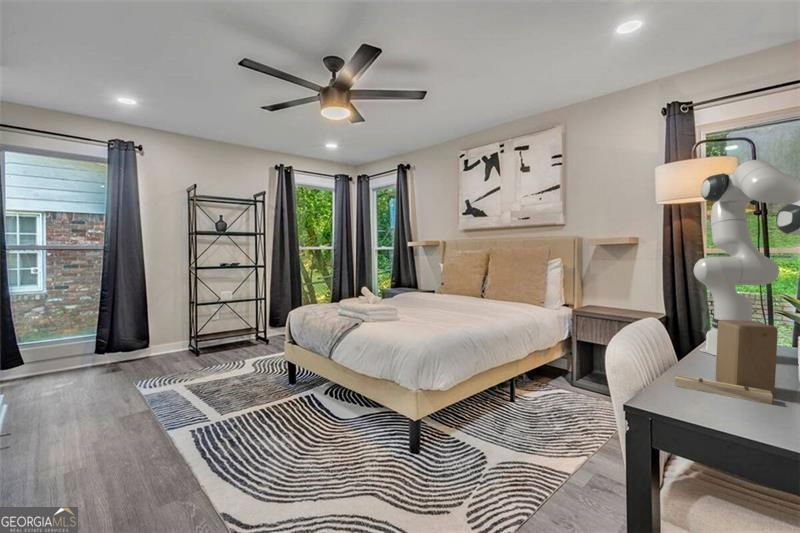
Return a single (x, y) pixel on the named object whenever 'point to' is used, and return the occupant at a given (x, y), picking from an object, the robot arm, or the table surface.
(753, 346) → the wooden block
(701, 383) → the maple board
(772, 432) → the table surface
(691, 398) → the table surface
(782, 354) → the table surface
